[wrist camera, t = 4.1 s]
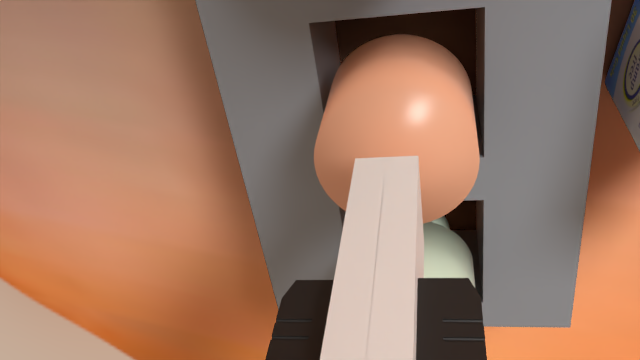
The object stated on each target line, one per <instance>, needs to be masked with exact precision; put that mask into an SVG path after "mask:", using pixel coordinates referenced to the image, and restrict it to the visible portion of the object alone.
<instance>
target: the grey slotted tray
mask: <svg viewBox="0 0 640 360" xmlns="http://www.w3.org/2000/svg"><path fill="white" fill-rule="evenodd" d="M195 1H196V5H197V9H198V12H199V16H200V20H201V23H202V27H203V31H204V35H205V38H206V42H207V46H208V49H209V53H210V57H211V60H212V64H213V68H214V72H215V75H216V79H217V83H218V86H219V90H220V94H221V98H222V101H223V105H224V109H225V112H226V116H227V120H228V124H229V127H230V131H231V135H232V138H233V142H234V146H235V150H236V153H237V157H238V161H239V164H240V168H241V172H242V176H243V179H244V183H245V187H246V190H247V194H248V198H249V202H250V205H251V209H252V213H253V216H254V220H255V224H256V228H257V231H258V235H259V239H260V242H261V246H262V250H263V254H264V257H265V261H266V265H267V268H268V272H269V276H270V280H271V283H272V287H273V291H274V294H275V298H276V302H277V306H278V309H279V307H280V303H281V299H282V297H283V296H284V295H285V293H286V292H287V291H288V290H289V288H290V287H291V286H292V284H293V283H294V282H295V281H296V280H334V276H335V270H336V265H337V259H338V253H339V248H340V242H341V236H342V231H343V225H344V219H345V214H346V211H345V210H343V209H342V208H341V207H339V206H338V205H337V204H336V203H335V202H334V201H333V200H332V199H331V198H330V197H329V196H328V194H327V193H326V192H325V190H324V189H323V187H322V185H321V184H320V182H319V179H318V177H317V174H316V170H315V165H314V148H315V143H316V139H317V135H318V132H319V128H320V125H321V121H322V118H323V114H324V111H325V107H326V104H327V100H328V96H329V93H330V89H331V86H332V82H333V79H334V77H335V74H336V72H337V70H338V68H339V66H340V65H341V63H340V56H339V49H338V42H337V34H336V27H335V21H337V20H348V19H359V18H370V17H381V16H392V15H403V14H414V13H425V12H436V11H447V10H458V9H469V8H476V95H472V97H473V105H474V113H475V122H476V130H477V139H478V147H479V158H480V163H479V171H478V175H477V179H476V181H475V183H474V186H473V188H472V189H471V191H470V193H469V194H468V195H467V197H466V198H465V199H464V200H463V201H468V200H476V230H452V231H453V232H455V233H456V234H457V235H458V236H460V237H461V238H462V239H463V241H464V242H465V243H466V244H467V246H468V247H469V249H470V251H471V254H472V258H473V267H474V279H475V289H476V290H477V292H478V293H479V295H480V296H481V303H482V314H483V324H484V326H495V327H570V325H571V317H572V309H573V301H574V293H575V285H576V277H577V269H578V262H579V254H580V246H581V238H582V230H583V222H584V214H585V207H586V199H587V191H588V183H589V175H590V167H591V159H592V151H593V144H594V136H595V128H596V120H597V112H598V104H599V96H600V88H601V81H602V73H603V65H604V57H605V49H606V41H607V33H608V25H609V18H610V10H611V2H612V0H195Z"/></svg>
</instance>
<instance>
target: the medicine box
mask: <svg viewBox="0 0 640 360" xmlns="http://www.w3.org/2000/svg"><path fill="white" fill-rule="evenodd" d="M605 85H606V87H607V90H608V91H609V94H610V95H611V97H612V100H613V101H614V103H615V105H616V107H617V109H618V111H619V113H620V115H621V117H622V119H623V120H624V122H625V124H626V126H627V128H628V130H629V132H630V133H631V135H632V137H633V139H634V141H635V143H636V145H637V147H638V149H639V151H640V0H635V1H634V3H633V6H632V9H631V11H630V14H629V17H628V20H627V22H626V25H625V28H624V30H623V33H622V36H621V38H620V41H619V44H618V46H617V49H616V52H615V54H614V57H613V60H612V63H611V65H610V67H609V70H608V73H607V76H606V79H605Z"/></svg>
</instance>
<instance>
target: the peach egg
mask: <svg viewBox="0 0 640 360" xmlns="http://www.w3.org/2000/svg"><path fill="white" fill-rule="evenodd" d="M398 156H418V158H419V173H420V188H421V203H422V218H423V224H424V223H427V222H431V221H433V220H436V219H438V218H440V217H442V216H444V215H446V214H448V213H449V212H450V211H452V210H453V209H455V208H456V207H457V206H458V205H459V204H460V203H461V202H462V201H463V200H464V199H465V198H466V197H467V195H468V194H469V193H470V191H471V189H472V188H473V186H474V183H475V181H476V179H477V175H478V171H479V163H480V158H479V147H478V139H477V130H476V122H475V113H474V105H473V97H472V88H471V84H470V80H469V77H468V75H467V72H466V71H465V69H464V67H463V66H462V64H461V63H460V61H459V60H458V59H457V58H456V57H455V56H454V55H453V54H452V53H451V52H450V51H449V50H447V49H446V48H444V47H443V46H442V45H440V44H438V43H436V42H434V41H432V40H429V39H426V38H423V37H419V36H416V35H411V34H395V35H389V36H383V37H380V38H376V39H374V40H371V41H369V42H366V43H365V44H363V45H361V46H360V47H358V48H357V49H355V50H354V51H353V52H352V53H350V54H349V55H348V56H347V58H346V59H345V60H344V61H343V62H342V64H341V65H340V66H339V68H338V70H337V72H336V74H335V77H334V79H333V82H332V86H331V89H330V93H329V96H328V100H327V104H326V107H325V111H324V114H323V118H322V121H321V125H320V128H319V132H318V135H317V139H316V143H315V148H314V165H315V170H316V174H317V177H318V179H319V182H320V184H321V185H322V187H323V189H324V190H325V192H326V193H327V194H328V196H329V197H330V198H331V199H332V200H333V201H334V202H335V203H336V204H337V205H338V206H339V207H341V208H342V209H343V210H345V211H346V208H347V202H348V197H349V191H350V185H351V180H352V174H353V168H354V163H355V158H376V157H398Z"/></svg>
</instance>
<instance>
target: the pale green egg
mask: <svg viewBox="0 0 640 360" xmlns="http://www.w3.org/2000/svg"><path fill="white" fill-rule="evenodd" d="M423 233H424V278H469V280H470V281H471V283H472V284H473V286H474V287H475V279H474V267H473V258H472V254H471V251H470V249H469V247H468V246H467V244H466V243H465V242H464V241H463V239H462V238H461V237H460V236H458V235H457V234H456V233H455V232H453V231H452V230H450V227H449V223H448V221H447V219H446V217H445V216H442V217H440V218H438V219H436V220H433V221H431V222H427V223H424V224H423Z"/></svg>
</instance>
